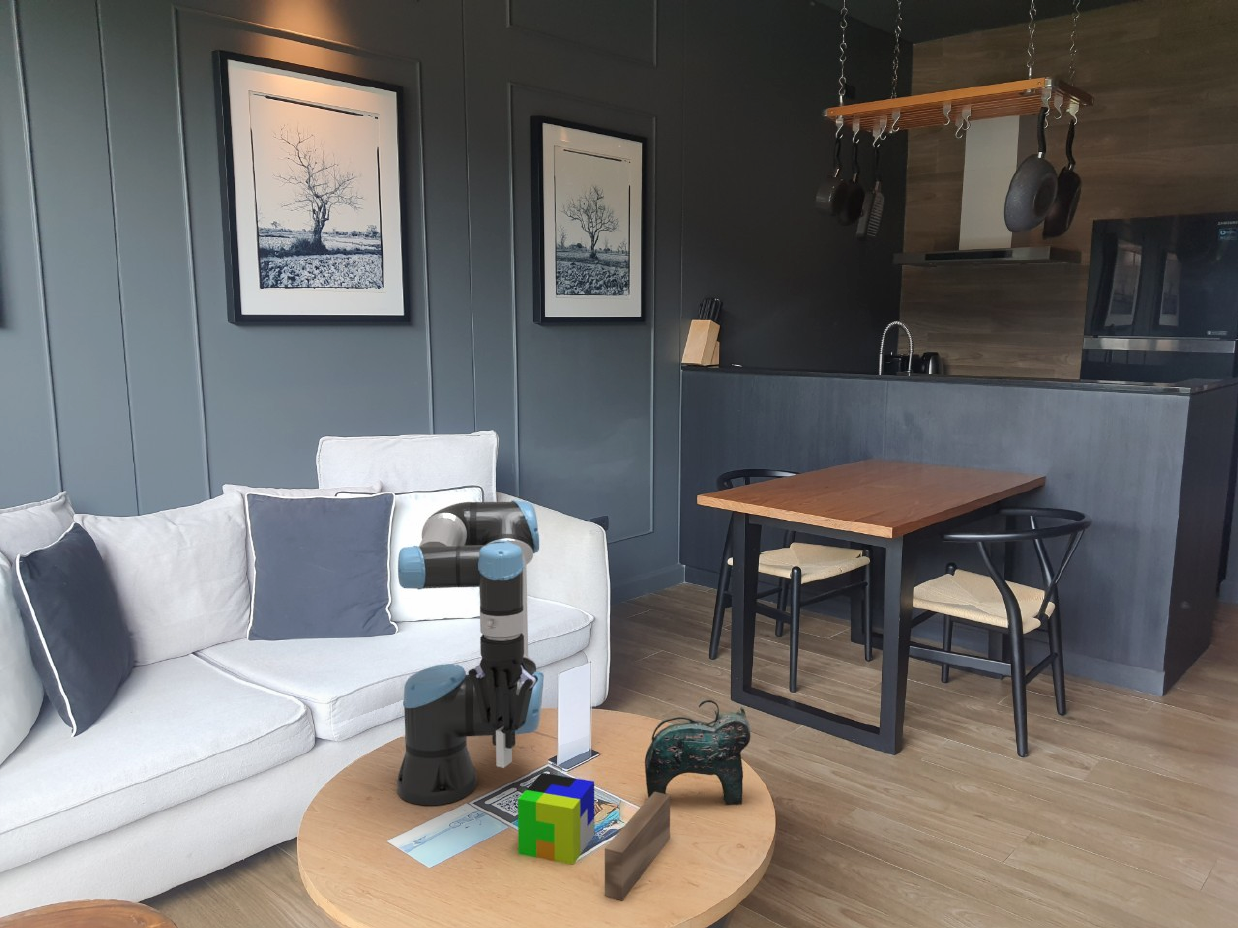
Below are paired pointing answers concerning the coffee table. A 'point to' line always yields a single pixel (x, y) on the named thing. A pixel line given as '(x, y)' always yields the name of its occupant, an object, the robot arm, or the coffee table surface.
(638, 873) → the walnut board
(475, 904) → the coffee table surface
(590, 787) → the puzzle toy
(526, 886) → the coffee table surface
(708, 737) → the ceramic cat
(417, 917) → the coffee table surface
